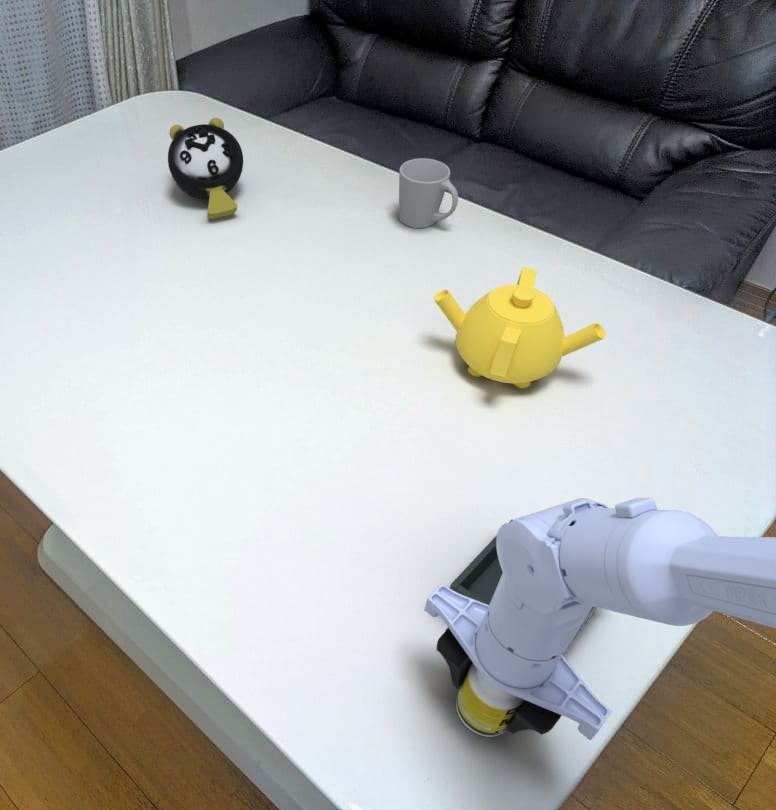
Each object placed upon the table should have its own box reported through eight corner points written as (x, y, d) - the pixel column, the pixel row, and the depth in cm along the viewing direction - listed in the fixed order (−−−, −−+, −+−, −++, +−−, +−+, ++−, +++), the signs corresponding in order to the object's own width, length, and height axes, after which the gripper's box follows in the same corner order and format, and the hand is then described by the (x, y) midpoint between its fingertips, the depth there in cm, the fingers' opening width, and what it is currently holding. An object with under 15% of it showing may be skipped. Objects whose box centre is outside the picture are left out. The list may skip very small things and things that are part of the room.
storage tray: (595, 609, 70) (611, 584, 66) (538, 683, 65) (552, 660, 62) (501, 545, 75) (511, 518, 72) (442, 609, 70) (450, 584, 67)
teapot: (407, 387, 91) (420, 317, 83) (441, 304, 102) (455, 235, 94) (577, 432, 85) (608, 361, 77) (593, 338, 96) (622, 268, 88)
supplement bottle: (498, 750, 61) (522, 709, 55) (445, 716, 63) (464, 673, 57) (520, 703, 64) (546, 660, 58) (469, 672, 66) (489, 627, 60)
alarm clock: (175, 234, 124) (134, 149, 117) (219, 196, 133) (183, 115, 126) (228, 222, 117) (188, 131, 109) (271, 183, 126) (236, 96, 118)
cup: (411, 201, 121) (418, 153, 115) (463, 223, 116) (474, 173, 110) (383, 220, 118) (389, 171, 112) (436, 243, 113) (445, 193, 107)
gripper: (655, 654, 50) (593, 729, 60) (473, 529, 58) (444, 614, 68) (604, 728, 47) (547, 794, 57) (419, 585, 55) (397, 666, 64)
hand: (488, 700), depth 62 cm, fingers closed on supplement bottle, 5 cm apart
